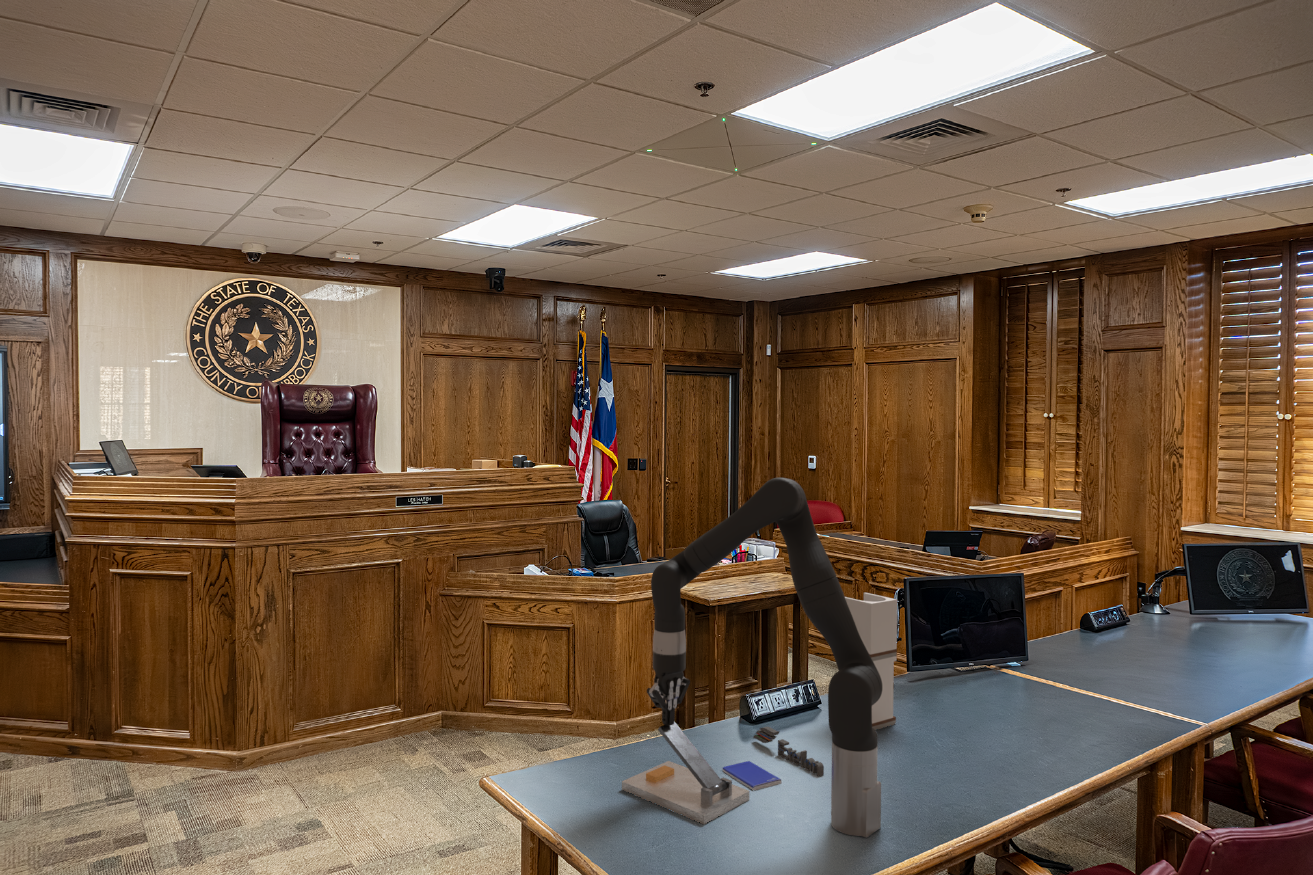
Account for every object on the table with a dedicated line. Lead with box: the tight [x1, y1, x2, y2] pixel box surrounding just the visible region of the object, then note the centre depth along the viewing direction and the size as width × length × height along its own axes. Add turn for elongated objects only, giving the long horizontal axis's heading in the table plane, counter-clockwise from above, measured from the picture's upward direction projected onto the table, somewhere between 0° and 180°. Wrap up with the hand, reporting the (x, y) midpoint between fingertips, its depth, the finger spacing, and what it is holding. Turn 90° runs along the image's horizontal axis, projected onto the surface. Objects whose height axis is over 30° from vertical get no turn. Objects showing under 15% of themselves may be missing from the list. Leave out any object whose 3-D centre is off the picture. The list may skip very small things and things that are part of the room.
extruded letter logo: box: [752, 726, 825, 777], centre depth 208 cm, size 25×2×6 cm, turn 32°
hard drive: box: [722, 760, 783, 791], centre depth 196 cm, size 2×8×12 cm
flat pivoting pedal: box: [657, 720, 727, 796], centre depth 185 cm, size 19×5×2 cm
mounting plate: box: [621, 760, 750, 825], centre depth 186 cm, size 24×16×5 cm, turn 48°
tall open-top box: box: [845, 592, 898, 731], centre depth 234 cm, size 11×11×35 cm
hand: (668, 724), depth 190 cm, fingers closed
